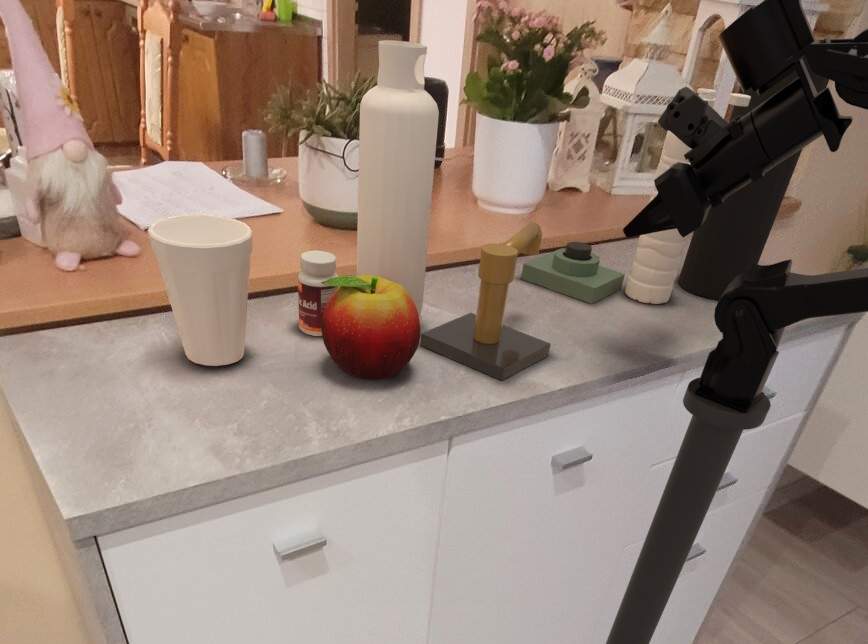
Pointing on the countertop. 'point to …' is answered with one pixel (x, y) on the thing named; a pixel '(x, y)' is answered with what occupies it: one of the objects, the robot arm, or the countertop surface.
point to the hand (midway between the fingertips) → (625, 233)
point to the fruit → (370, 326)
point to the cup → (206, 282)
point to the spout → (508, 255)
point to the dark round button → (578, 251)
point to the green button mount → (573, 276)
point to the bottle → (396, 170)
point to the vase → (740, 216)
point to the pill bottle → (314, 289)
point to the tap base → (482, 353)
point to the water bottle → (666, 248)
